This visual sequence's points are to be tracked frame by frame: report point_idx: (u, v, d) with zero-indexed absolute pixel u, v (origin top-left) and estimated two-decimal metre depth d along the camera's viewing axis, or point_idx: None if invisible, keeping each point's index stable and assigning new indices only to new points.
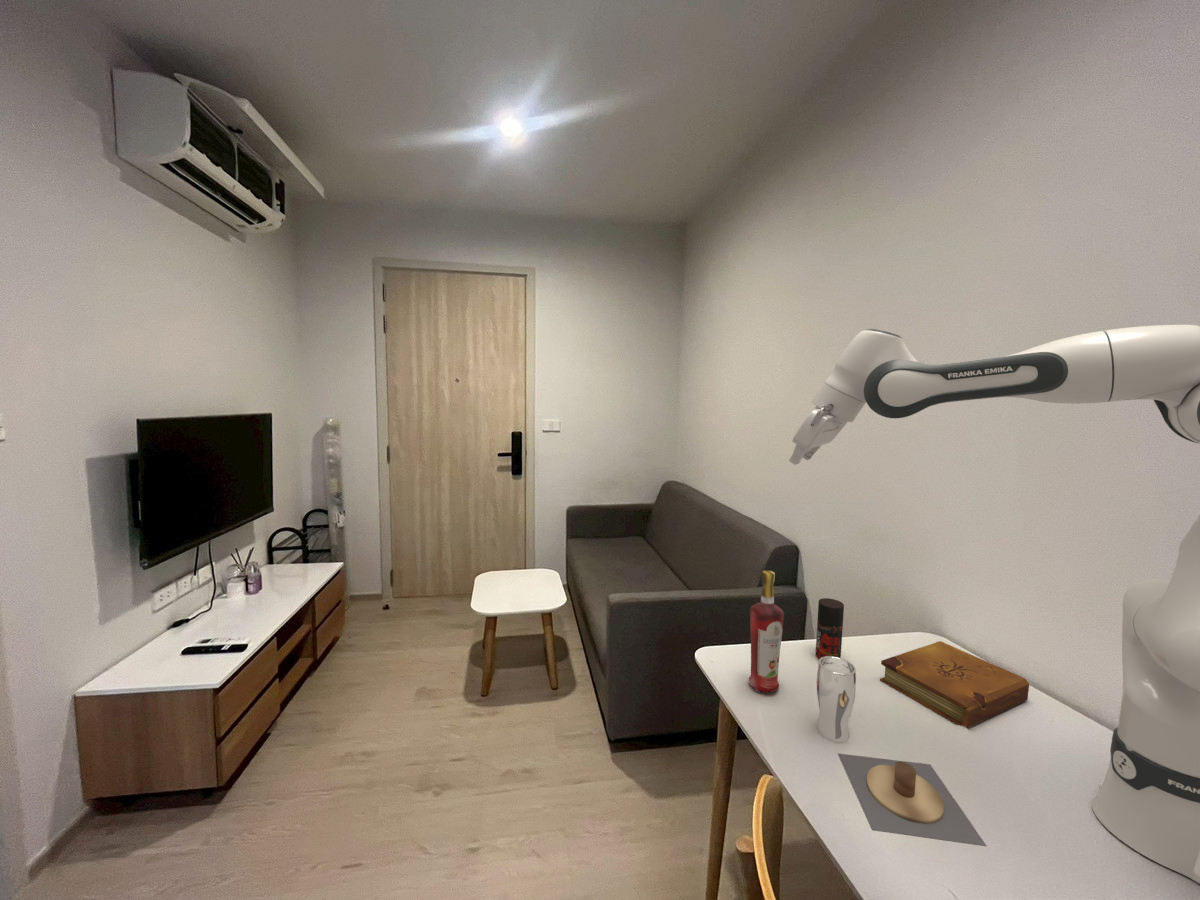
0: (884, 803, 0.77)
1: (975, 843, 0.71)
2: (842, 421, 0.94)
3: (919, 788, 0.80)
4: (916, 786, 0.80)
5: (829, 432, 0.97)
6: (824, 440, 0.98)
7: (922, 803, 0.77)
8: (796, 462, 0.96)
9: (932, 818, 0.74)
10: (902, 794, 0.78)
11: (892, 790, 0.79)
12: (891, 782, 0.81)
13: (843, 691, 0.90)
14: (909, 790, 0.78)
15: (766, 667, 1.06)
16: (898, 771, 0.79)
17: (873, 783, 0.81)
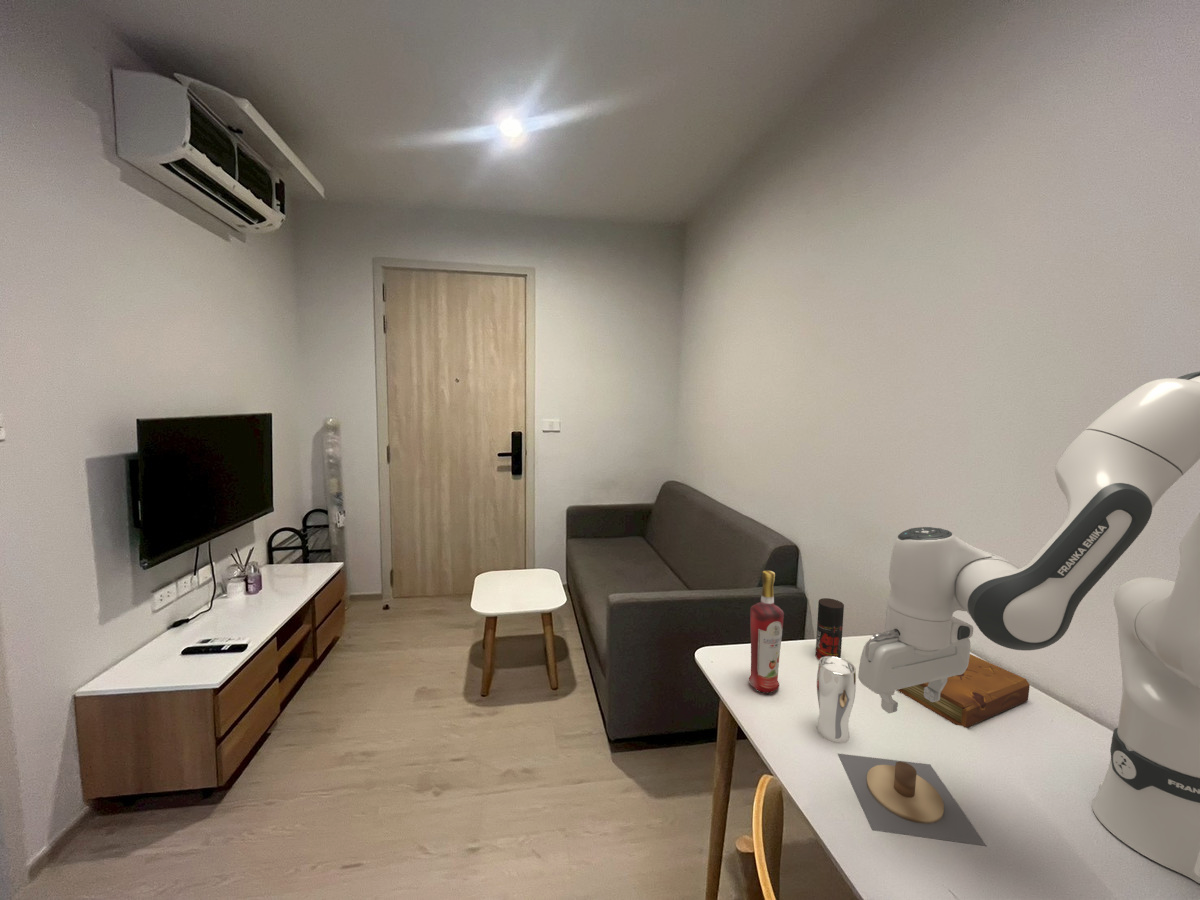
0: (884, 803, 0.77)
1: (975, 843, 0.71)
2: (928, 648, 0.73)
3: (919, 788, 0.80)
4: (916, 786, 0.80)
5: (928, 663, 0.75)
6: (928, 675, 0.76)
7: (922, 803, 0.77)
8: (889, 710, 0.75)
9: (932, 818, 0.74)
10: (902, 794, 0.78)
11: (892, 790, 0.79)
12: (891, 781, 0.81)
13: (843, 691, 0.90)
14: (909, 790, 0.78)
15: (766, 667, 1.06)
16: (898, 771, 0.79)
17: (873, 783, 0.81)
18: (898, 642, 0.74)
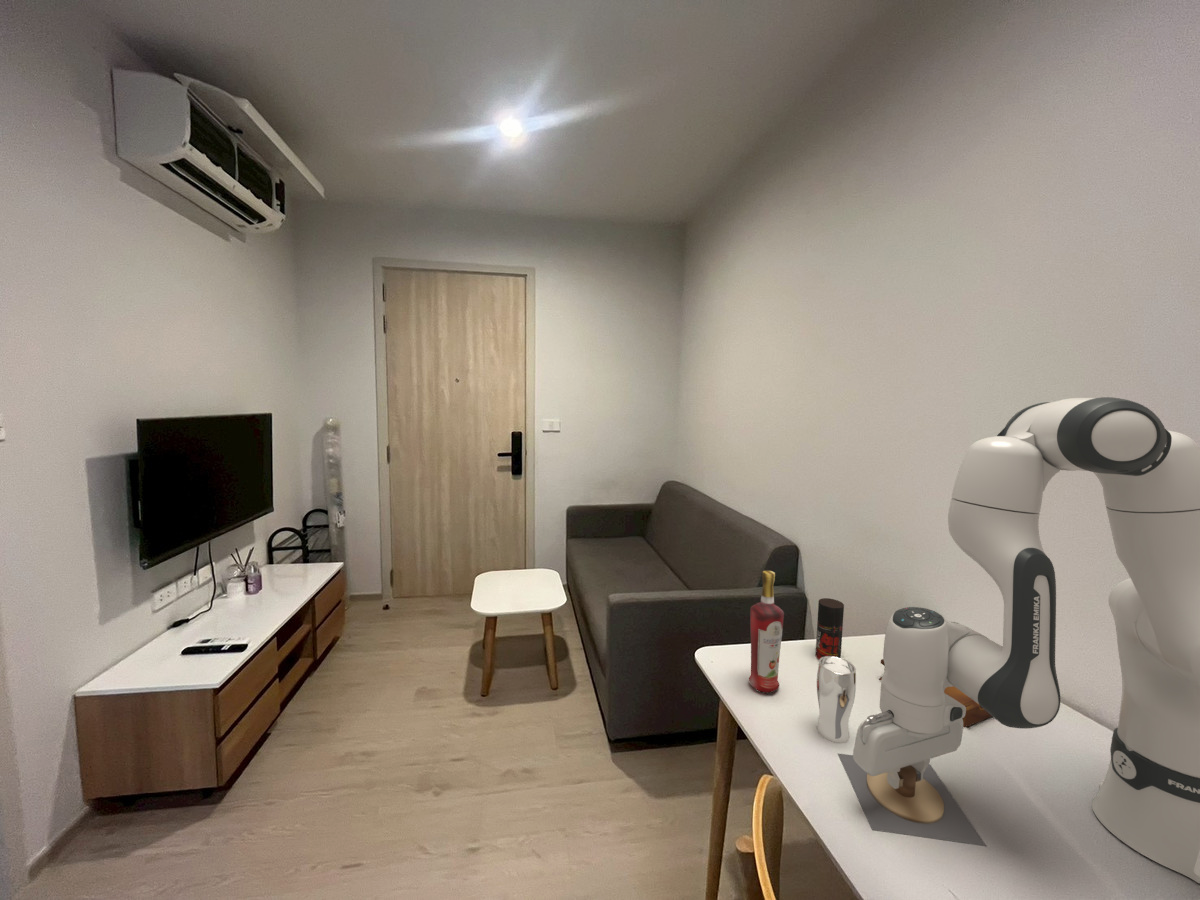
0: (885, 803, 0.77)
1: (975, 843, 0.71)
2: None
3: (919, 788, 0.80)
4: (916, 785, 0.80)
5: (921, 743, 0.77)
6: (921, 754, 0.77)
7: (922, 803, 0.77)
8: (895, 785, 0.78)
9: (933, 818, 0.74)
10: (902, 794, 0.78)
11: (893, 790, 0.79)
12: None
13: (843, 691, 0.90)
14: (909, 790, 0.78)
15: (766, 667, 1.06)
16: None
17: (873, 783, 0.81)
18: (892, 724, 0.76)
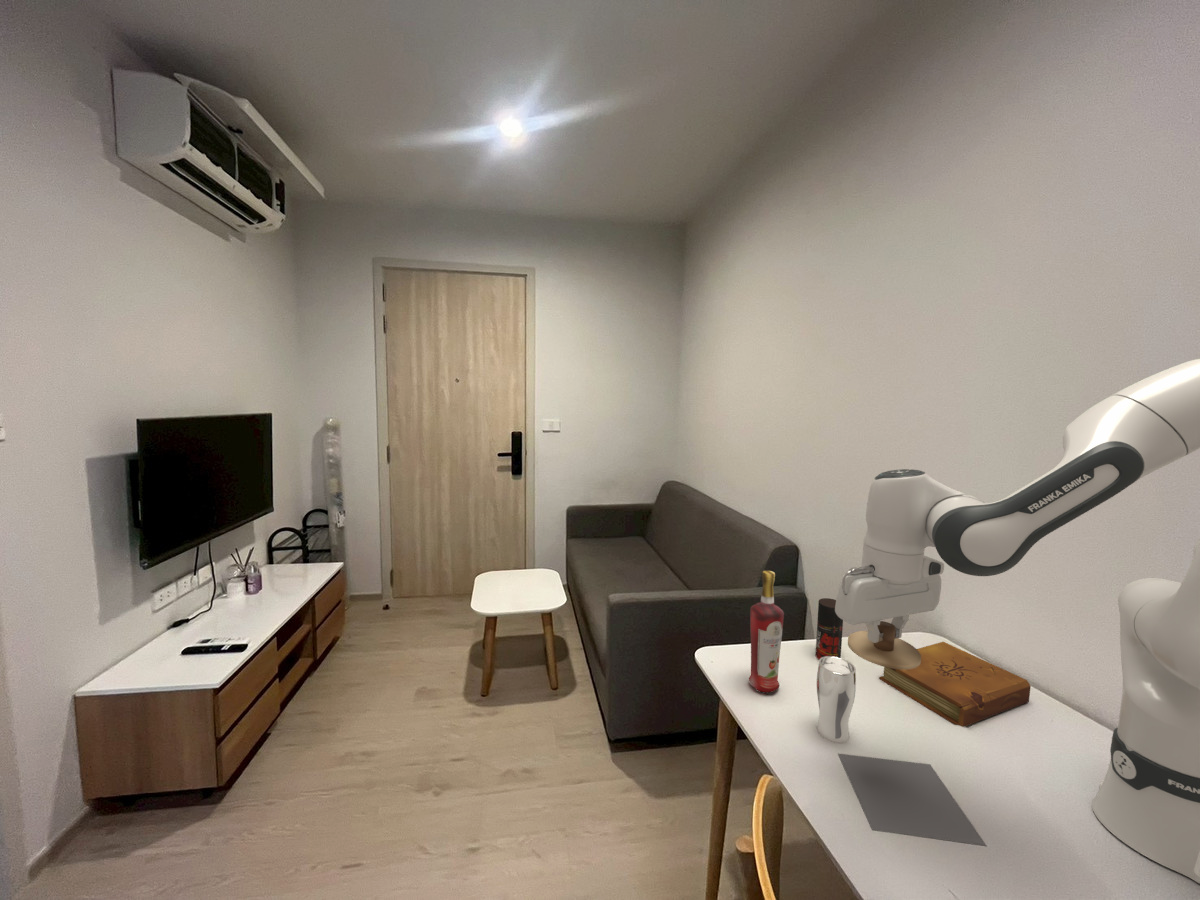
0: (864, 655, 0.79)
1: (975, 843, 0.71)
2: (901, 582, 0.77)
3: (898, 645, 0.82)
4: (895, 644, 0.83)
5: (901, 598, 0.79)
6: (901, 609, 0.80)
7: (900, 655, 0.79)
8: (875, 639, 0.80)
9: (910, 664, 0.77)
10: (882, 649, 0.81)
11: (872, 646, 0.82)
12: (871, 641, 0.83)
13: (843, 691, 0.90)
14: (888, 644, 0.80)
15: (766, 667, 1.06)
16: (878, 627, 0.81)
17: (854, 642, 0.83)
18: (873, 577, 0.78)
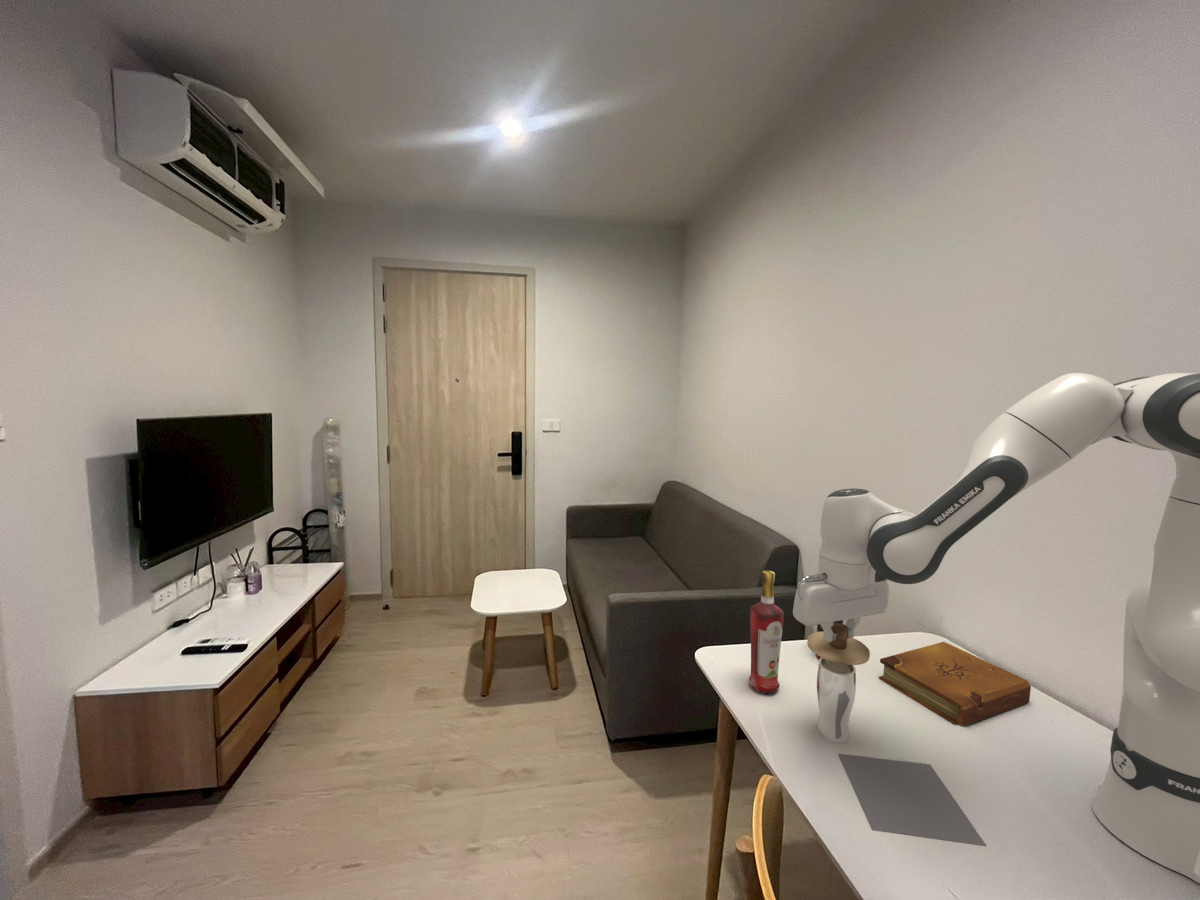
0: (819, 653, 0.90)
1: (975, 843, 0.71)
2: (850, 588, 0.88)
3: (851, 644, 0.93)
4: (849, 643, 0.93)
5: (851, 602, 0.90)
6: (851, 612, 0.90)
7: (851, 652, 0.90)
8: (829, 639, 0.91)
9: (858, 660, 0.87)
10: (835, 647, 0.91)
11: (828, 645, 0.92)
12: None
13: (843, 691, 0.90)
14: (841, 643, 0.91)
15: (766, 667, 1.06)
16: (832, 628, 0.91)
17: (812, 641, 0.94)
18: (825, 583, 0.89)
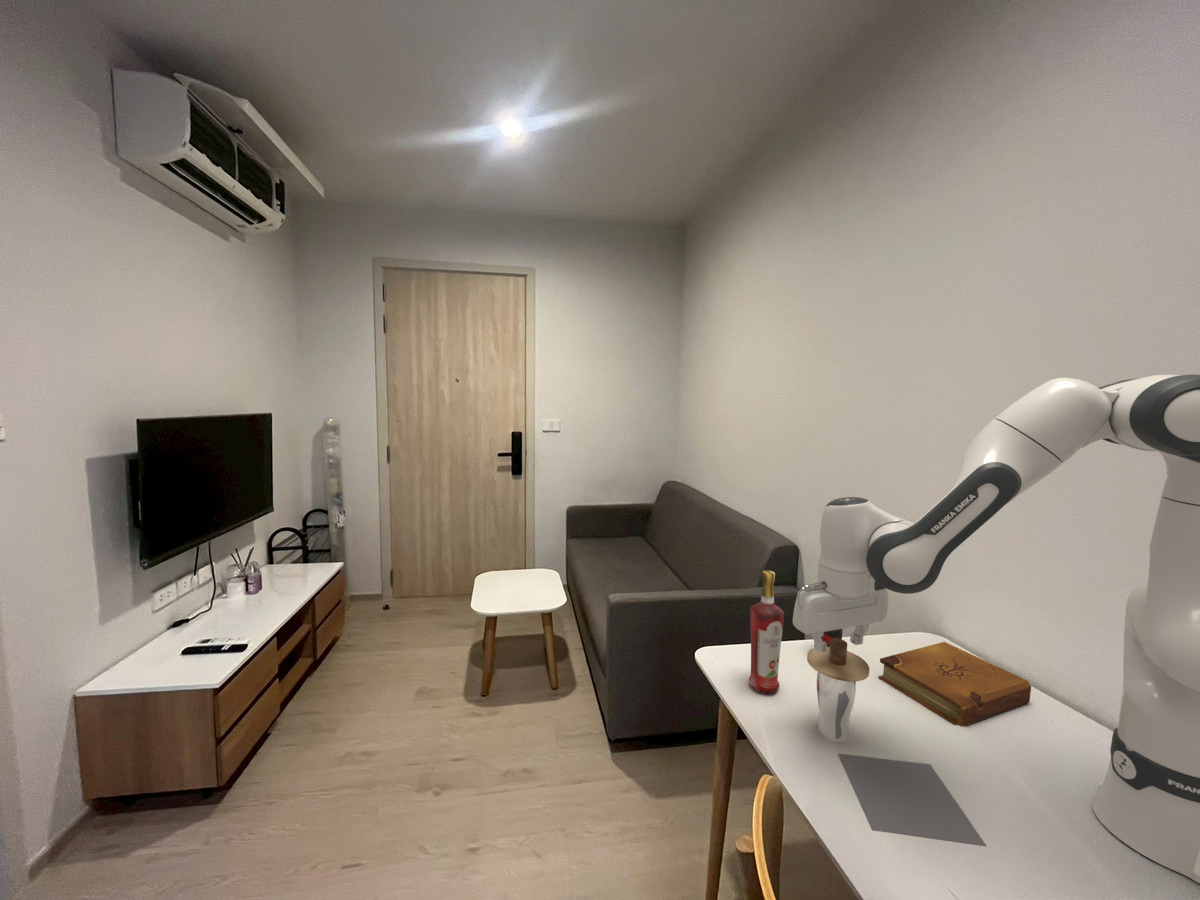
0: (819, 669, 0.90)
1: (975, 843, 0.71)
2: (849, 597, 0.88)
3: (850, 660, 0.93)
4: (848, 658, 0.94)
5: (851, 610, 0.90)
6: (851, 620, 0.90)
7: (851, 668, 0.90)
8: (819, 649, 0.90)
9: (858, 677, 0.87)
10: (835, 663, 0.91)
11: (828, 661, 0.93)
12: (827, 656, 0.94)
13: (843, 691, 0.90)
14: (841, 659, 0.91)
15: (766, 667, 1.06)
16: (832, 644, 0.92)
17: (812, 657, 0.94)
18: (825, 592, 0.89)
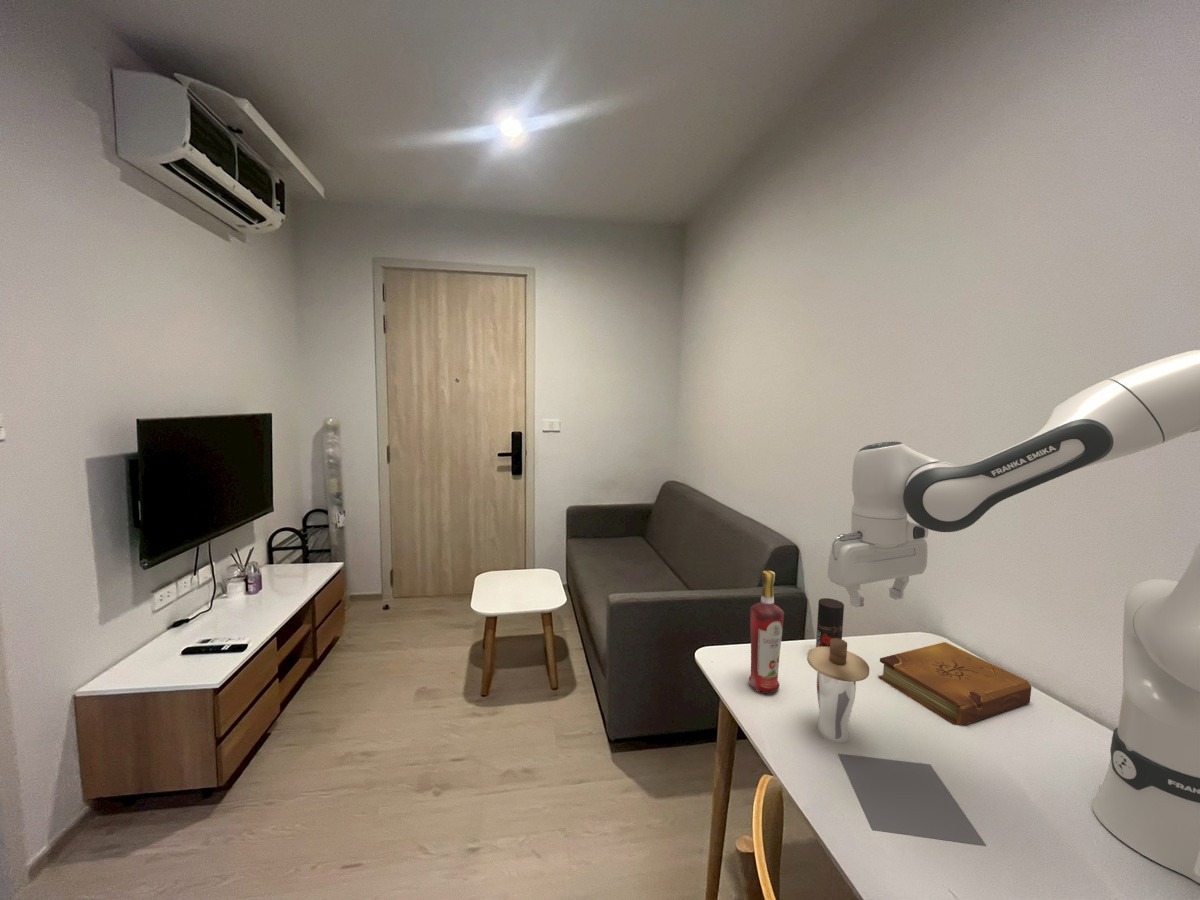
0: (819, 669, 0.90)
1: (975, 843, 0.71)
2: (887, 546, 0.83)
3: (850, 660, 0.93)
4: (848, 658, 0.94)
5: (889, 561, 0.85)
6: (889, 572, 0.85)
7: (851, 668, 0.90)
8: (856, 604, 0.85)
9: (858, 677, 0.87)
10: (835, 663, 0.91)
11: (828, 661, 0.93)
12: (827, 656, 0.94)
13: (843, 691, 0.90)
14: (841, 659, 0.91)
15: (766, 667, 1.06)
16: (832, 644, 0.92)
17: (812, 657, 0.94)
18: (861, 542, 0.84)
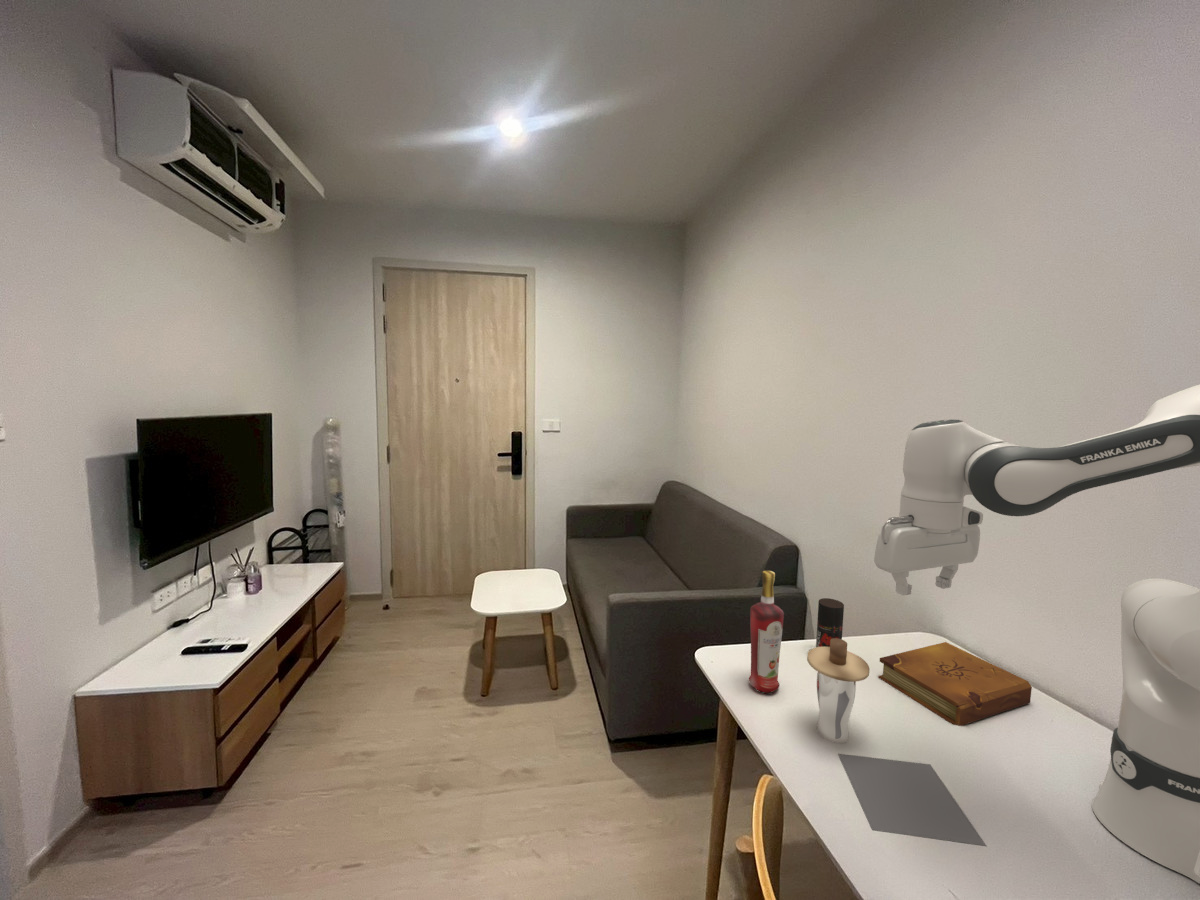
0: (819, 669, 0.90)
1: (975, 843, 0.71)
2: (941, 531, 0.78)
3: (851, 660, 0.93)
4: (848, 658, 0.93)
5: (940, 548, 0.80)
6: (940, 559, 0.80)
7: (851, 668, 0.90)
8: (903, 592, 0.80)
9: (858, 677, 0.87)
10: (835, 663, 0.91)
11: (828, 661, 0.93)
12: (827, 656, 0.94)
13: (843, 691, 0.90)
14: (841, 659, 0.91)
15: (766, 667, 1.06)
16: (832, 644, 0.92)
17: (812, 657, 0.94)
18: (912, 526, 0.79)
